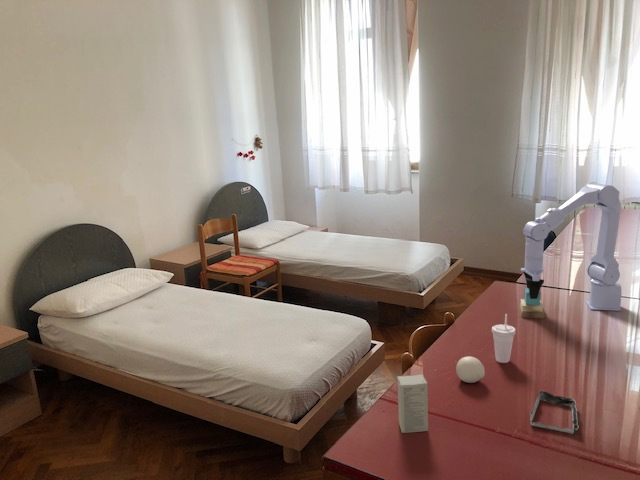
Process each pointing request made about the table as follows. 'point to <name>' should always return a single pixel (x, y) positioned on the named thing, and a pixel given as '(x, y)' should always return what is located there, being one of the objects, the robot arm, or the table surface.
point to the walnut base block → (531, 313)
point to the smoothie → (503, 341)
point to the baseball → (470, 369)
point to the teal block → (531, 301)
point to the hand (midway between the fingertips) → (532, 294)
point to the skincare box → (412, 403)
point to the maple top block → (531, 307)
